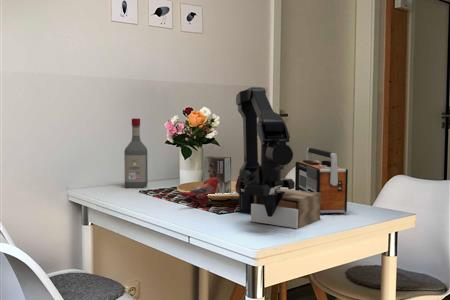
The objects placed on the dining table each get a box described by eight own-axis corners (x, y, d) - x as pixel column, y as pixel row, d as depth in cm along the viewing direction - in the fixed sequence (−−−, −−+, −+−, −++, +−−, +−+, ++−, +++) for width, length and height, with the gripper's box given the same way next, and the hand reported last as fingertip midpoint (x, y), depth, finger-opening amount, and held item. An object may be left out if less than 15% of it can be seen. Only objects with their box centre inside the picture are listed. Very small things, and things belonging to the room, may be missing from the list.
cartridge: (269, 215, 148) (269, 199, 148) (276, 213, 152) (277, 197, 151) (296, 219, 143) (296, 202, 143) (303, 217, 147) (303, 200, 146)
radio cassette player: (293, 200, 184) (294, 147, 183) (320, 200, 185) (321, 147, 184) (317, 216, 155) (319, 153, 154) (349, 215, 156) (350, 153, 155)
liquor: (145, 188, 210) (144, 118, 208) (123, 188, 210) (123, 118, 207) (148, 185, 219) (147, 118, 217) (127, 185, 219) (127, 118, 217)
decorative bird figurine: (221, 205, 173) (222, 176, 172) (180, 210, 162) (180, 180, 161) (216, 203, 175) (217, 176, 174) (175, 209, 164) (175, 179, 163)
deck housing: (299, 228, 138) (299, 199, 138) (254, 221, 147) (254, 193, 146) (320, 219, 150) (320, 192, 149) (277, 213, 158) (277, 188, 158)
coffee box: (231, 199, 185) (232, 156, 184) (224, 202, 179) (225, 158, 178) (210, 197, 189) (210, 155, 187) (202, 200, 183) (202, 157, 182)
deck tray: (296, 228, 137) (296, 209, 136) (250, 221, 145) (251, 203, 145) (317, 219, 148) (318, 202, 148) (274, 213, 157) (274, 197, 156)
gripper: (263, 158, 151) (262, 208, 152) (228, 162, 135) (228, 218, 137) (295, 160, 144) (294, 212, 145) (263, 165, 129) (262, 223, 130)
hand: (269, 216), depth 139 cm, fingers closed
